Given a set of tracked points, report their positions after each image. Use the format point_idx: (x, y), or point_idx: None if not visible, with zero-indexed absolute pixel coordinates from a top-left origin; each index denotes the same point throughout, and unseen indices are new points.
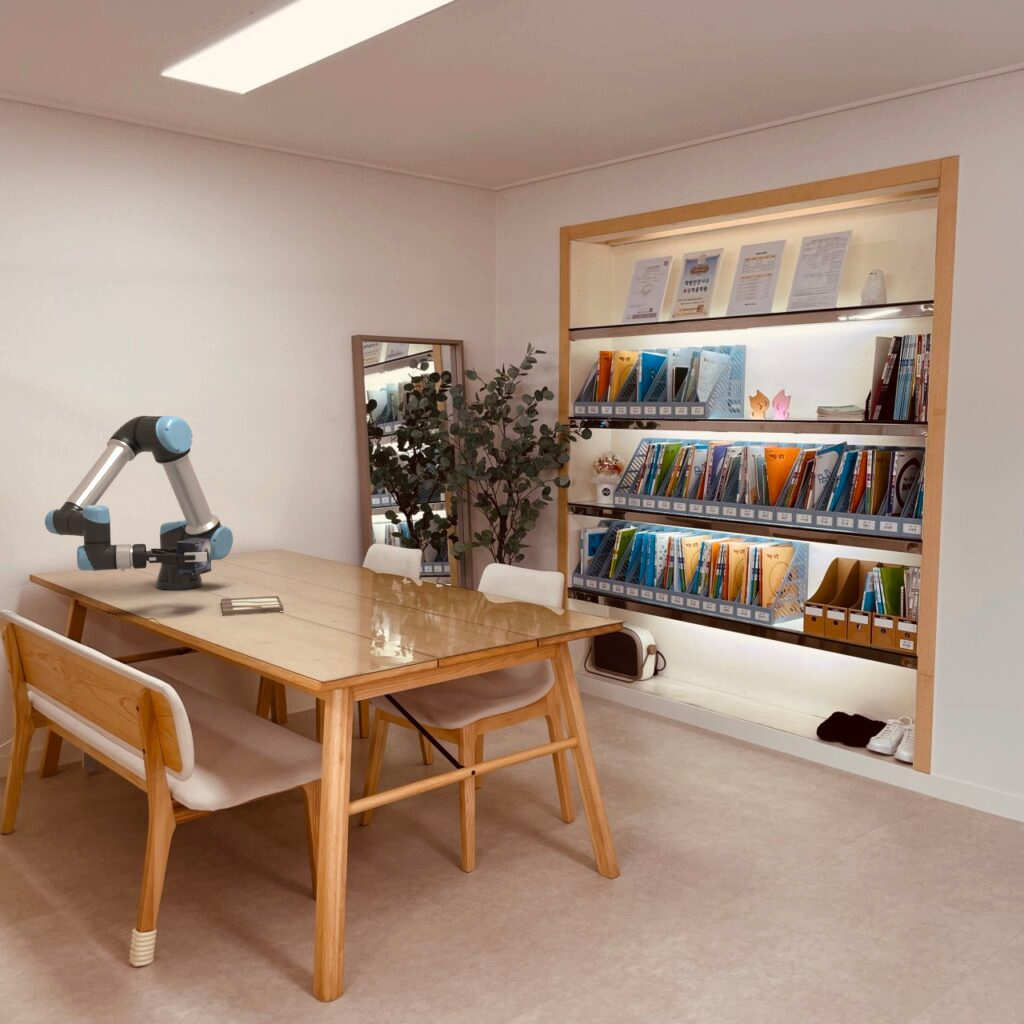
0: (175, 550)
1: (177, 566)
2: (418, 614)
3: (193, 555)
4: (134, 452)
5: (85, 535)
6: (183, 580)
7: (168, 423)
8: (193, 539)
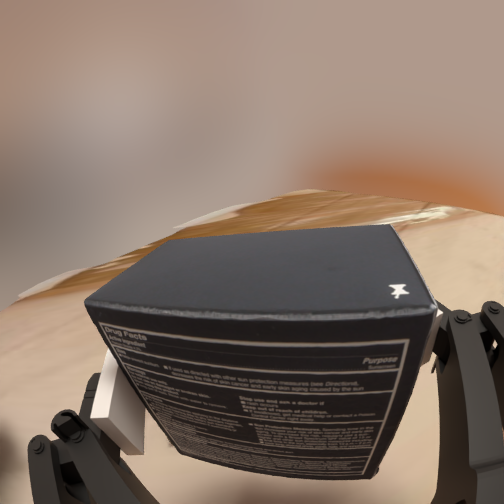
0: (143, 499)
1: (385, 452)
2: (290, 227)
3: None
4: None
5: None
6: None
7: None
8: (215, 265)
